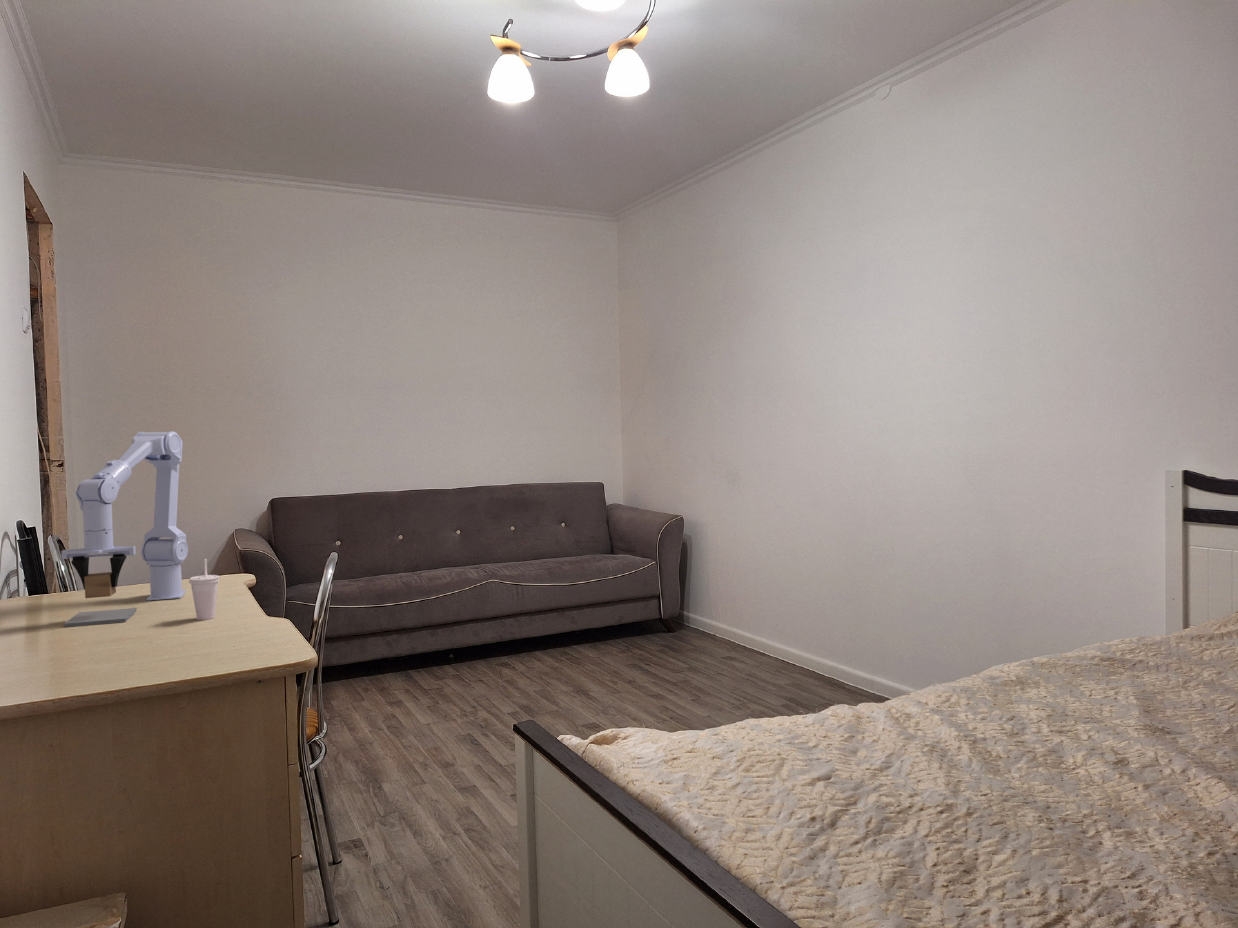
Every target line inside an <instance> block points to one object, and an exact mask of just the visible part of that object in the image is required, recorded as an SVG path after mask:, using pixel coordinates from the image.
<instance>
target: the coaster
mask: <svg viewBox="0 0 1238 928" xmlns="http://www.w3.org/2000/svg"><path fill="white" fill-rule="evenodd" d="M136 612H137V607H135V608H134V607H132V608H118V609H103V610H93V611H92V610H91V611H80V612H78V613H76V614H75V615H74V616H72V617H71V618H70V619H68V620H67V621H66V622H64V624H63V626H64V628H68V627H79V626H80V627H81V626H93V625H105V624H118V623H126V622H127V621H128V620H129V619H130V618H131V617H132V616H133V615H134V614H135V613H136Z"/></svg>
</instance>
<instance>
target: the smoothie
mask: <svg viewBox="0 0 1238 928" xmlns="http://www.w3.org/2000/svg"><path fill="white" fill-rule="evenodd" d="M207 564H208V560H207V558H203V565H204V566H203V568H204V575H195V576H192V577H190V578H189V582H188V583H189V584H190V586H191V593H192V598H193V604H194V609H195V614H196V620H199V621H205V620H206V621H207V620H212V619H214V618H215V617H216V608H217V607H216V605H217V596H218V587H219V581H220V575H218V574H208V565H207Z"/></svg>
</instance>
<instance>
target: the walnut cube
mask: <svg viewBox="0 0 1238 928" xmlns="http://www.w3.org/2000/svg"><path fill="white" fill-rule="evenodd" d="M84 583H85V589H84V598H85V599H93V598H94V599H95V598H106V597H108V598H109V597H111V596H113V595H115V594H116V591H117V589H116V587H117V586H116V587H112V571H104V572H102V571H101V572H89V574H88V575H87V576H85V577H84Z"/></svg>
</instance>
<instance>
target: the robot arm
mask: <svg viewBox="0 0 1238 928" xmlns="http://www.w3.org/2000/svg"><path fill="white" fill-rule="evenodd" d="M183 445H184V444H183V440H182V438H181V437H180V436H179V434H178V433H177V432H176V431H172V430H171V431H158V432H157V431H153V432H152V431H151V432H150V431H148V432H146V431H139V432H137V433H136V434H135V436H133V437H132V438H131V445H130V446H129V447H128V448H127V449H126V451H125V452H124V453H123V454H122V455H121V456H120V458H119V459H111V460H108V461H107V462H106V463H105V465H104V466H103V467H102V468H101V469H100V470H99V471H97V472H96V473H95V474H94V475H93V476H92V477H91V478H87V479H83V481H81V482H80V483H79V484H78V486H77V487H76V491H75V497H76V500H77V501H78V502H79V509H80V511H82V519H83V545H84V546H83V548H82V547H81V548H71V549H63V550H61V560H68V559H72V560H71V565H72V566H73V568H74V569H75V571H76V572H77V574H78V576H79V579H80V581H81V583H82V588H83V590H85V583H84V577H85V576H87V575H88V574H90V572H89V569H90V566H89V564H90V558H99V557H110V558H109V563H110V568H111V569H110V570H111V571H110V572H112V587H117V586H118V582H119V577H120V574H121V570H122V568H123V565H124V563H125V561H126V559H127V556H135V555H136V552H137V551H136V545H130V546H125V545H124V546H122V545H121V546H114V528H113V527H114V525H113V506H112V505H113V502H114V501H116V499H117V498H118V494H119V491H120V488H121V487H122V486H123V484H125V483H126V482H127V481H128V480H129V479H130V478H131V476H132V474H133V473H132V469H133V468H135V467H136V466H137V465H139V464H140V463H142V461H144V460H145V461H146V462H147V463H149V464H152V465H153V466H154V467H155V469H156V474H155V476H156V477H155V492H154V510H153V511H154V513H153V527H152V528H151V529H149V530H148V531H147V532H146V533H145V534H144V536H143V538H144V539H143V543H142V545H141V546H140V547H141V548H140V555H141V558H142V559H143V561H144V562H146V566H149V586H150V587H149V589H150V590H149V591H150V595H149V596H148V597H147V598H146V601H158V600H170V599H171V600H172V599H181V598H182V597H183V596H184V595H185V594H186V592H187V590H186V589H183V583H182V581H183V580H182V579H183V577H182V566H181V564H182V563H184V560H186V558H187V556H188V553H189V545H188V543H187V534H186V533H185V532H183V531H182V530H181V529H179V528H178V527H177V520H178V519H177V518H178V517H177V516H178V499H179V495H178V494H179V480H180V479H179V478H180V464H181V463H182V461H183V460H182V459H183ZM169 538H170V539H169Z"/></svg>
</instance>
